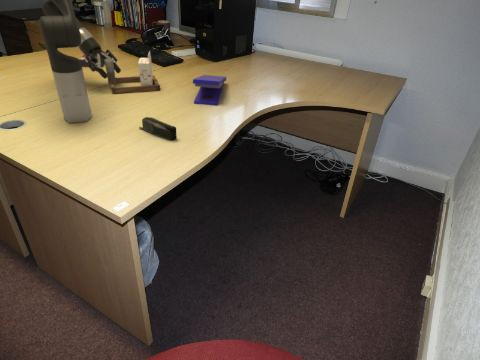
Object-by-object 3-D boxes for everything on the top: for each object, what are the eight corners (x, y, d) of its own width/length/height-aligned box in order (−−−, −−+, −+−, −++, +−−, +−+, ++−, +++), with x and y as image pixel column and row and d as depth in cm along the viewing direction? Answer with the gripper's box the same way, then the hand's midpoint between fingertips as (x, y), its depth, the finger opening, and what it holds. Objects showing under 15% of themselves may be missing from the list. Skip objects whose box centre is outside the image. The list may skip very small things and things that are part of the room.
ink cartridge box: (142, 83, 153) (138, 50, 145) (153, 83, 154) (150, 50, 145) (140, 90, 146) (137, 55, 138) (152, 90, 147) (149, 55, 139)
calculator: (106, 52, 179) (101, 58, 167) (108, 61, 181) (102, 67, 169) (85, 52, 177) (78, 58, 165) (86, 60, 180) (79, 67, 167)
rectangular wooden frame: (160, 90, 147) (158, 62, 140) (110, 93, 140) (105, 64, 133) (154, 79, 157) (152, 53, 151) (108, 82, 150) (103, 55, 144)
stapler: (192, 104, 138) (192, 80, 132) (202, 82, 161) (202, 61, 155) (220, 106, 137) (220, 83, 132) (226, 84, 161) (226, 63, 155)
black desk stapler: (177, 125, 109) (142, 113, 115) (171, 129, 107) (136, 116, 112) (178, 139, 112) (143, 126, 118) (172, 142, 110) (137, 129, 115)
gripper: (77, 39, 131) (106, 73, 134) (101, 33, 142) (128, 65, 145) (69, 51, 135) (97, 84, 139) (93, 44, 146) (119, 75, 150)
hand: (113, 74), depth 142 cm, fingers open, 8 cm apart
